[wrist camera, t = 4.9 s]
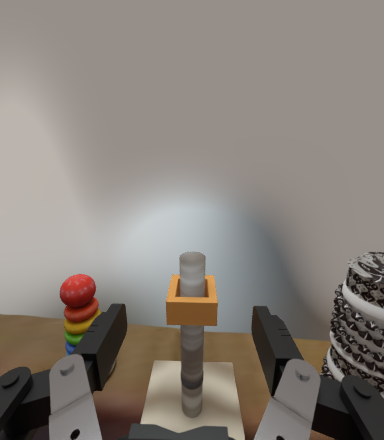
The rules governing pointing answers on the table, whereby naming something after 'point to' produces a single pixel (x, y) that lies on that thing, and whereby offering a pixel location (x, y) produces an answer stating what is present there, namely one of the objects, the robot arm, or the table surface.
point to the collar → (192, 305)
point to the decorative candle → (359, 323)
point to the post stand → (193, 375)
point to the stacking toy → (78, 308)
